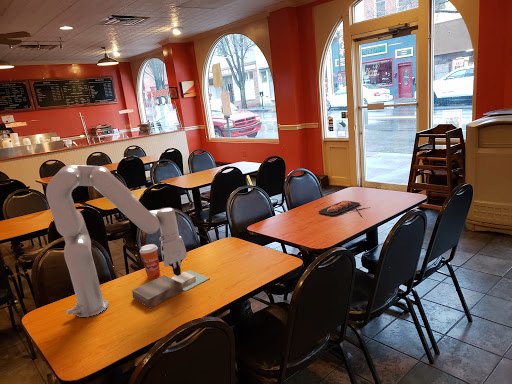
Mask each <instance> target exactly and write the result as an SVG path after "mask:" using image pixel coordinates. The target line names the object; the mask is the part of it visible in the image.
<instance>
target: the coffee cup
mask: <svg viewBox="0 0 512 384" xmlns="http://www.w3.org/2000/svg"><path fill="white" fill-rule="evenodd" d="M158 248H159V247H158V246H157V245H156V244H154V243H151V244H145V245H142V246H141V247H140V250H139V253H140V255H141V258H142V262H143V266H144V269H145V273H146V276H147V278H148V279H151V280H155V279H157V278H159V277H161V270H160V262H159V255H158Z"/></svg>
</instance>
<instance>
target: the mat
mask: <svg viewBox="0 0 512 384" xmlns="http://www.w3.org/2000/svg"><path fill="white" fill-rule="evenodd" d="M185 272H186V273H189V274H191V275H194V276H195V278H196V280H195V281H193V282H191V283H189V284H187V285H185V286H183V287H182V289H183V292H187V291H189V290H191V289H192V288H195V287H196V286H199V285H201V284H202V283H204V282H206V281H208V280H210V277H208V276H206V275H203V274H200V273H198V272H195V271H193V270H191V269H188V270H186V271H185Z"/></svg>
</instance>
